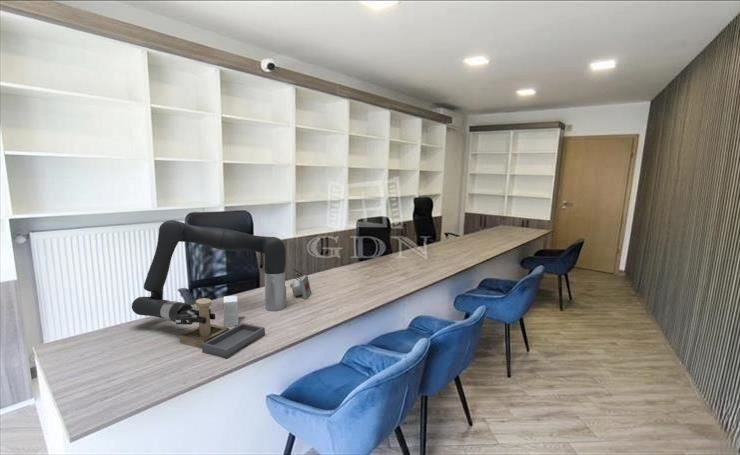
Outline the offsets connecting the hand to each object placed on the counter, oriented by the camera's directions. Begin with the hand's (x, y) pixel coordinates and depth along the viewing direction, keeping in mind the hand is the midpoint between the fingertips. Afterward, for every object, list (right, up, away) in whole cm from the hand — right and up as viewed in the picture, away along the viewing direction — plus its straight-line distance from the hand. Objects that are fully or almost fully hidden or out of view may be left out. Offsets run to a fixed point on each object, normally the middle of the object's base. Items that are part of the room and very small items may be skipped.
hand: (210, 318), depth 132 cm
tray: (+10, -9, -1) cm, 13 cm away
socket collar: (-3, -8, +2) cm, 9 cm away
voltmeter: (+21, -1, +60) cm, 63 cm away
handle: (-3, -8, +2) cm, 9 cm away
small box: (+1, -6, +18) cm, 19 cm away
